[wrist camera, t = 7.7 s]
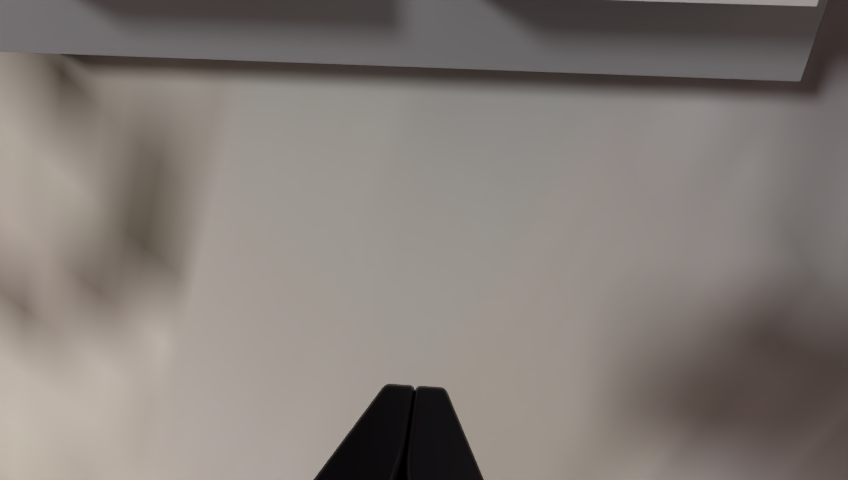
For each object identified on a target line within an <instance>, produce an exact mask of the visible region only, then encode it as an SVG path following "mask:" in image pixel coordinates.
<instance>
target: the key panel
mask: <svg viewBox="0 0 848 480" xmlns="http://www.w3.org/2000/svg"><path fill="white" fill-rule="evenodd" d="M827 3H828V0H0V52H26V53H52V54H79V55H106V56H132V57H159V58H186V59H212V60H239V61H266V62H293V63H319V64H346V65H373V66H399V67H426V68H453V69H479V70H506V71H533V72H560V73H586V74H613V75H640V76H666V77H693V78H720V79H746V80H773V81H801V78H802V75H803V72H804V69H805V66H806V63H807V61H808V58H809V55H810V52H811V49H812V46H813V43H814V40H815V38H816V35H817V32H818V29H819V26H820V23H821V20H822V17H823V15H824V12H825V9H826V6H827Z"/></svg>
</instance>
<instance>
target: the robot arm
mask: <svg viewBox="0 0 848 480" xmlns="http://www.w3.org/2000/svg"><path fill="white" fill-rule="evenodd" d="M314 480H484V479H483V477H482V475H481V472H480V470H479V467H478V465H477V463H476V460H475V458H474V455H473V453H472V451H471V448H470V446H469V443H468V441H467V439H466V436H465V434H464V431H463V429H462V427H461V424H460V422H459V419H458V417H457V415H456V412H455V410H454V407H453V405H452V403H451V400H450V398H449V395H448V393H447V391H446V390H445V389H444V388H441V387H428V386H419V387H417V388H416V390H415V389H414V387H412V386H410V385H397V384H387V385H385V386H384V387H383V388H382V389H381V391H380V392H379V393H378V395H377V396H376V397H375V399H374V400H373V401H372V403H371V404H370V405H369V407H368V408H367V409H366V411H365V412H364V413H363V415H362V416H361V417H360V419H359V420H358V421H357V423H356V424H355V425H354V427H353V428H352V429H351V431H350V432H349V433H348V435H347V436H346V437H345V439H344V440H343V441H342V443H341V444H340V445H339V447H338V448H337V449H336V451H335V452H334V453H333V455H332V456H331V457H330V459H329V460H328V461H327V463H326V464H325V465H324V467H323V468H322V469H321V471H320V472H319V473H318V475H317V476H316V477H315V479H314Z"/></svg>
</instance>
